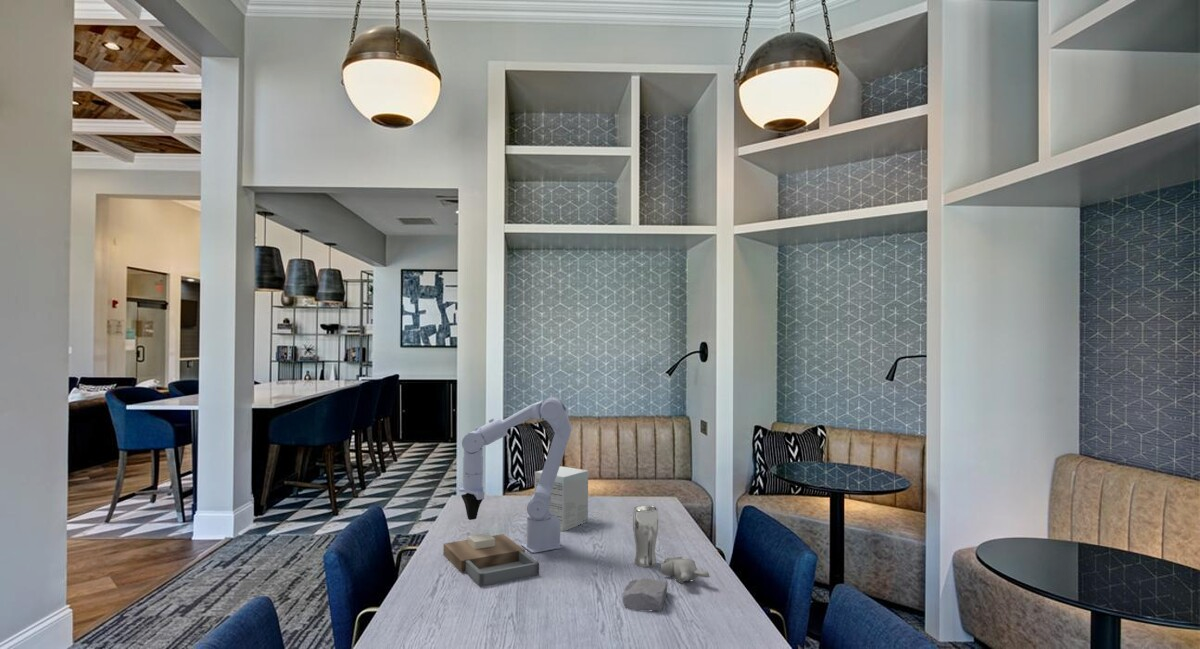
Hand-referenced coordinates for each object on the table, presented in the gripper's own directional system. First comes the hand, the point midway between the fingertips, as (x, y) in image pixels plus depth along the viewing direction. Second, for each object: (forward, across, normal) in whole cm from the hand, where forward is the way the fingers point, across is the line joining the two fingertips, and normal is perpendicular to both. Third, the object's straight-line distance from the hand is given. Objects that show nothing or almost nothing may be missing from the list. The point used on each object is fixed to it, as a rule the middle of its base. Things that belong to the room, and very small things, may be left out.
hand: (472, 519), depth 180 cm
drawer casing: (+8, +10, 0) cm, 13 cm away
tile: (+5, +8, 0) cm, 10 cm away
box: (+8, +24, 0) cm, 25 cm away
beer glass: (+8, +36, +37) cm, 52 cm away
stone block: (+8, +56, +23) cm, 61 cm away
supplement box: (+8, -9, +34) cm, 36 cm away
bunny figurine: (+8, +50, +39) cm, 64 cm away
